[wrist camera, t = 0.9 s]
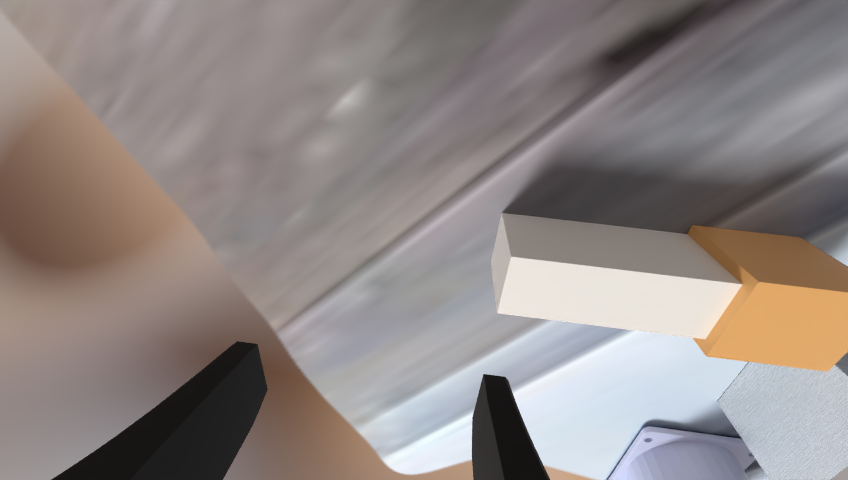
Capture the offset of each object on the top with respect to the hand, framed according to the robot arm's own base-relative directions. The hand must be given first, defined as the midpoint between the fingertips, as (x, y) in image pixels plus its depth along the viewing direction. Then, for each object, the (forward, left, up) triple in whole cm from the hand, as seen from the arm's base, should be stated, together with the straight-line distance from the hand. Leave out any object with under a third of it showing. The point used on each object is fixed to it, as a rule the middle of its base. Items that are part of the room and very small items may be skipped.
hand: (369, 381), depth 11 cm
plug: (0, -12, -10) cm, 15 cm away
